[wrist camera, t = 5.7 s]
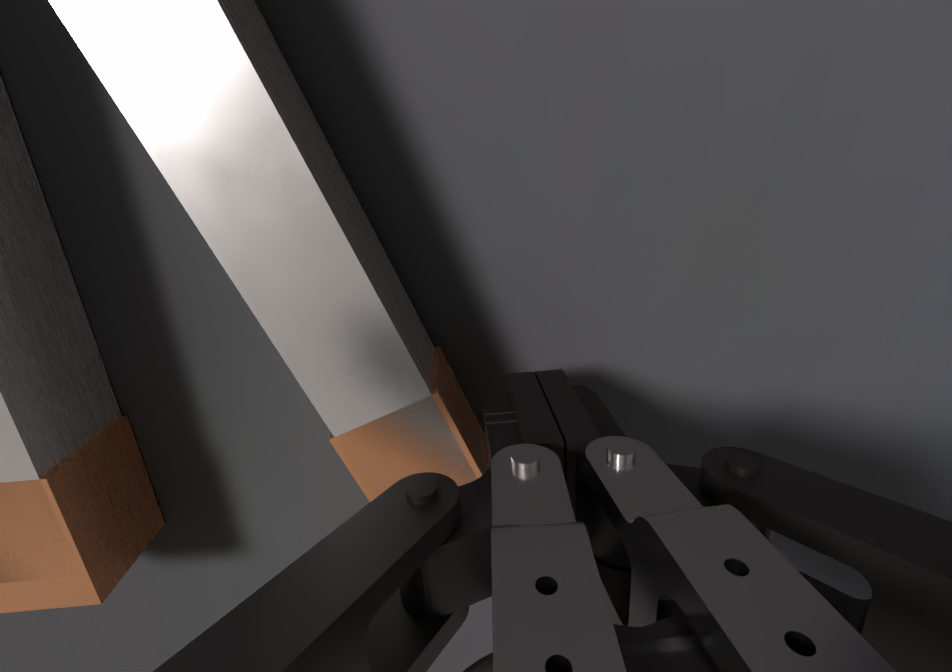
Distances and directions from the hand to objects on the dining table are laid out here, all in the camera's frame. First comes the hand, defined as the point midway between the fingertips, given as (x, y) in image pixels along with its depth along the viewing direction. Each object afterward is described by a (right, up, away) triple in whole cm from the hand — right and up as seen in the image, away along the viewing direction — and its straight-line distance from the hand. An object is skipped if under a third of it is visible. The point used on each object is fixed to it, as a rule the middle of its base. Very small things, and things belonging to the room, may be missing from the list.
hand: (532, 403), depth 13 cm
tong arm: (-6, +6, -1) cm, 8 cm away
